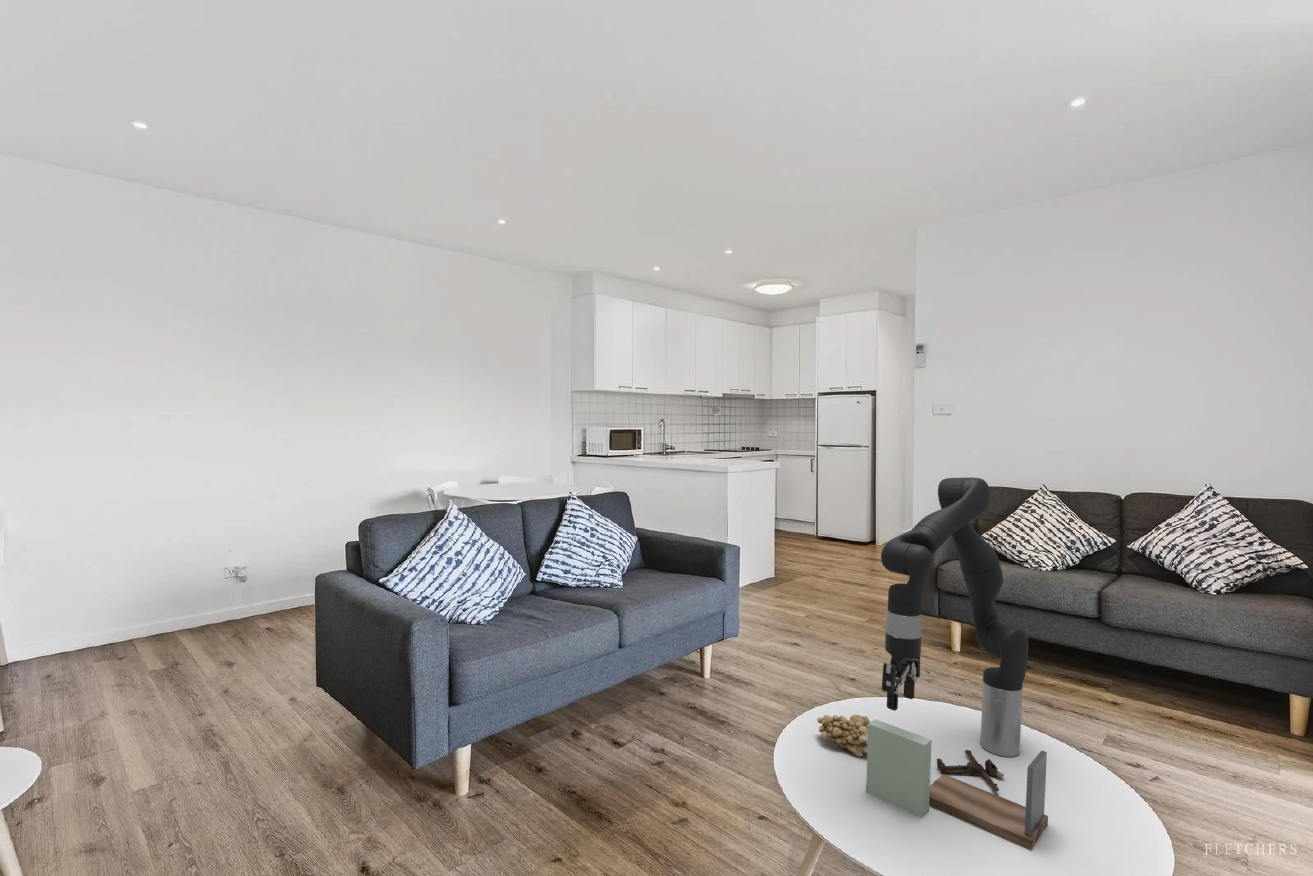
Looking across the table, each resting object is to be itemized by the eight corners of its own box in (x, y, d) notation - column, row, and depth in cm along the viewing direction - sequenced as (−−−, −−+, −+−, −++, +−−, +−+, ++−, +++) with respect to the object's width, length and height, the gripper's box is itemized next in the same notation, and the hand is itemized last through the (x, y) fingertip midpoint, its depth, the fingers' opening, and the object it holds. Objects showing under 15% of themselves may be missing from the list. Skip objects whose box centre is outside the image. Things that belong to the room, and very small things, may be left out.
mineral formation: (871, 763, 161) (810, 745, 167) (874, 747, 173) (818, 732, 179) (875, 730, 161) (814, 714, 167) (878, 717, 174) (822, 702, 180)
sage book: (873, 786, 150) (875, 719, 150) (928, 811, 141) (931, 739, 141) (865, 792, 148) (868, 724, 147) (922, 818, 139) (925, 745, 138)
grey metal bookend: (1038, 814, 138) (1041, 750, 137) (1044, 816, 137) (1046, 752, 137) (1024, 835, 131) (1027, 767, 130) (1030, 837, 130) (1033, 769, 130)
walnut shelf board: (942, 782, 153) (943, 773, 153) (1047, 825, 137) (1047, 815, 137) (921, 802, 144) (922, 793, 144) (1031, 850, 129) (1031, 840, 129)
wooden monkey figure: (926, 742, 167) (984, 740, 165) (927, 758, 167) (985, 757, 166) (952, 781, 149) (1017, 779, 147) (953, 799, 149) (1018, 798, 148)
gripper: (901, 621, 151) (898, 689, 152) (872, 634, 141) (869, 707, 141) (933, 629, 146) (930, 700, 146) (906, 643, 136) (903, 719, 136)
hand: (900, 703), depth 144 cm, fingers open, 8 cm apart
